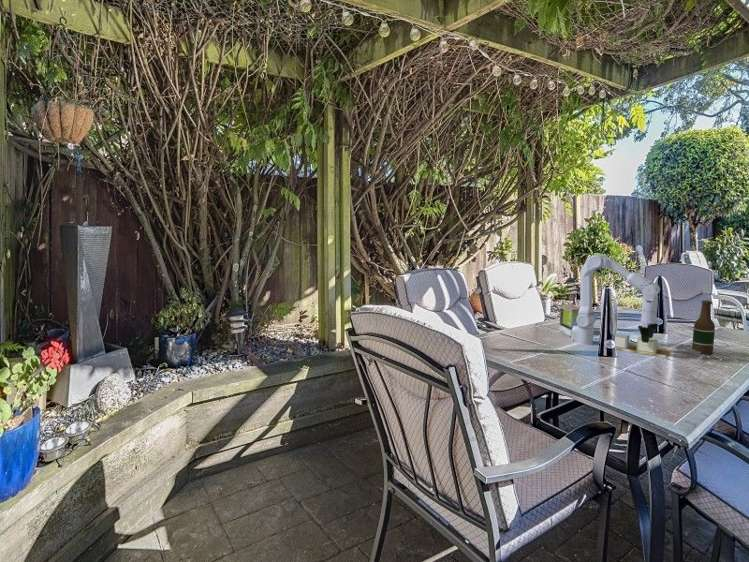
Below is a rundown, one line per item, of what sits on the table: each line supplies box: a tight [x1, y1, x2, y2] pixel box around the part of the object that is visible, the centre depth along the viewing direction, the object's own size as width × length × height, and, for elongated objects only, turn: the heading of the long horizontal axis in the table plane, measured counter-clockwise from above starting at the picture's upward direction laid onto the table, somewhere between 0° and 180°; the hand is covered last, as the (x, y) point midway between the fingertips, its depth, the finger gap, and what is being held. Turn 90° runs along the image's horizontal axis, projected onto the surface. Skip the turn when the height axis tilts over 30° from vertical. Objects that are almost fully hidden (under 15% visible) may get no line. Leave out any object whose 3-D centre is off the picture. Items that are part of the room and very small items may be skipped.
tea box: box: [559, 304, 580, 337], centre depth 240 cm, size 15×10×15 cm
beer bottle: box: [691, 299, 716, 356], centre depth 203 cm, size 8×8×24 cm
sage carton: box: [636, 335, 659, 354], centre depth 199 cm, size 7×5×6 cm, turn 48°
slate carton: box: [615, 332, 631, 349], centre depth 207 cm, size 7×5×6 cm, turn 48°
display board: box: [615, 342, 673, 359], centre depth 206 cm, size 24×18×3 cm
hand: (646, 340), depth 199 cm, fingers open, 7 cm apart
